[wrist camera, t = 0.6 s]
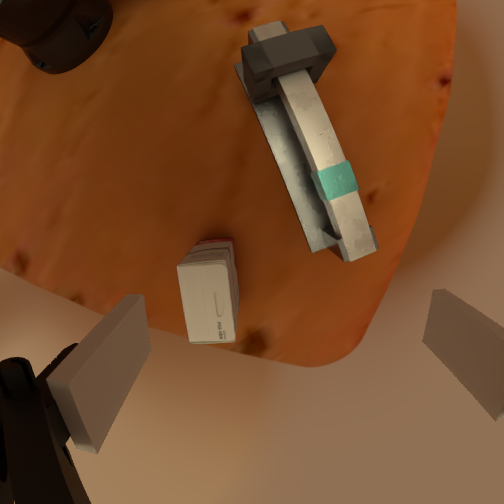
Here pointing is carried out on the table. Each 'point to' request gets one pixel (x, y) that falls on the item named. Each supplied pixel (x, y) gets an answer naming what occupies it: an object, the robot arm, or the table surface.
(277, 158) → the pipe rail
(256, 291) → the table surface
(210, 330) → the ink box
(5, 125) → the table surface
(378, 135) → the table surface
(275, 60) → the ring collar
